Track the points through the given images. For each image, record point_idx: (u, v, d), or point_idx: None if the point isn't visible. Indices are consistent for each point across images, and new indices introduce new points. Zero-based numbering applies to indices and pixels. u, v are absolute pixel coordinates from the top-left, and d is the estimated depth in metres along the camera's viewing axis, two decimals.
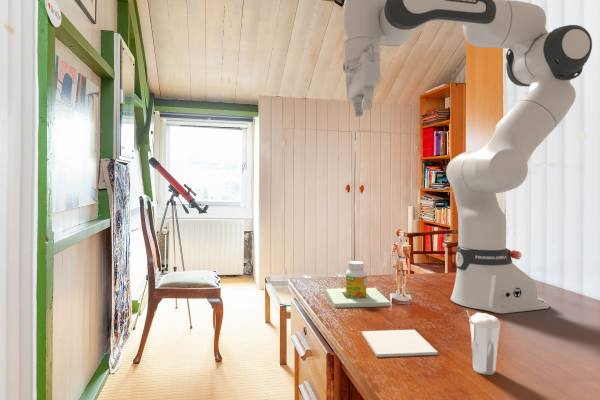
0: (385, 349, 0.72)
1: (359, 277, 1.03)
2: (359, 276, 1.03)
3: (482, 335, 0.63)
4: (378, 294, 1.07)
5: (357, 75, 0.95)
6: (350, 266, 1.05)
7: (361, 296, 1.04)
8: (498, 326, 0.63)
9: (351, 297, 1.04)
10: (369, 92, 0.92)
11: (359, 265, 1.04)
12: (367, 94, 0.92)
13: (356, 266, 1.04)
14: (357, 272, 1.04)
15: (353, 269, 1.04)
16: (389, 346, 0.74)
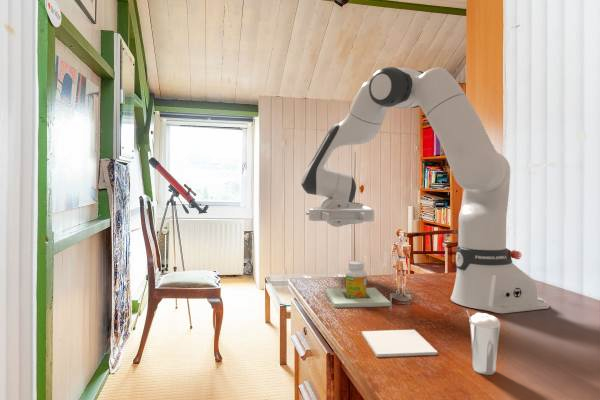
0: (385, 349, 0.72)
1: (359, 277, 1.03)
2: (359, 276, 1.03)
3: (482, 335, 0.63)
4: (378, 294, 1.07)
5: None
6: (350, 266, 1.05)
7: (361, 296, 1.04)
8: (498, 326, 0.63)
9: (351, 297, 1.04)
10: (322, 215, 1.20)
11: (359, 265, 1.04)
12: (323, 217, 1.19)
13: (356, 266, 1.04)
14: (357, 272, 1.04)
15: (353, 269, 1.04)
16: (389, 346, 0.74)
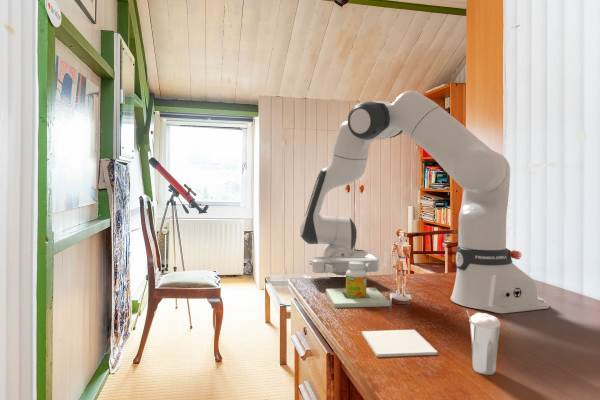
0: (385, 349, 0.72)
1: (359, 277, 1.03)
2: (359, 276, 1.03)
3: (482, 335, 0.63)
4: (378, 294, 1.07)
5: None
6: (350, 266, 1.05)
7: (361, 296, 1.04)
8: (498, 326, 0.63)
9: (351, 297, 1.04)
10: (325, 267, 1.17)
11: (359, 265, 1.04)
12: (326, 269, 1.17)
13: (356, 266, 1.04)
14: (357, 272, 1.04)
15: (353, 269, 1.04)
16: (389, 346, 0.74)
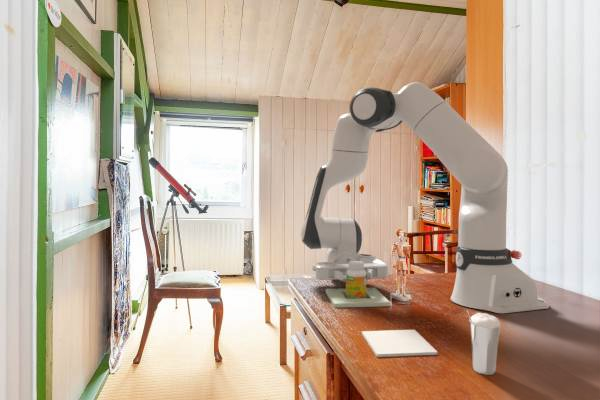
0: (385, 349, 0.72)
1: (359, 277, 1.03)
2: (359, 276, 1.03)
3: (482, 335, 0.63)
4: (378, 294, 1.07)
5: None
6: (350, 266, 1.05)
7: (361, 296, 1.04)
8: (498, 326, 0.63)
9: (351, 297, 1.04)
10: (335, 274, 1.08)
11: (359, 265, 1.04)
12: (336, 276, 1.08)
13: (356, 266, 1.04)
14: (357, 272, 1.04)
15: (353, 269, 1.04)
16: (389, 346, 0.74)
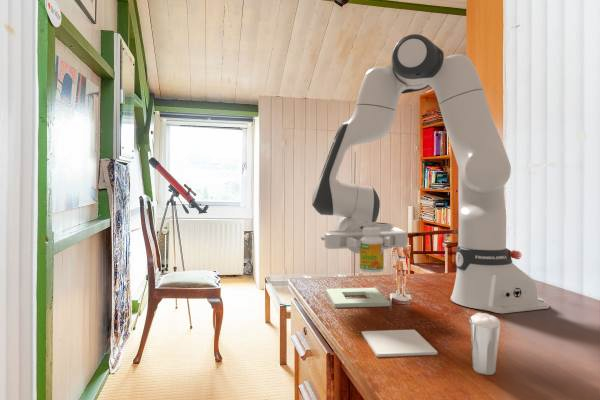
0: (385, 349, 0.72)
1: (375, 244, 0.90)
2: (375, 244, 0.90)
3: (482, 335, 0.63)
4: (378, 294, 1.07)
5: None
6: (365, 232, 0.91)
7: (378, 266, 0.90)
8: (498, 326, 0.63)
9: (366, 267, 0.90)
10: (347, 241, 0.94)
11: (375, 231, 0.90)
12: (348, 243, 0.94)
13: (372, 232, 0.90)
14: (373, 238, 0.90)
15: (368, 235, 0.91)
16: (389, 346, 0.74)
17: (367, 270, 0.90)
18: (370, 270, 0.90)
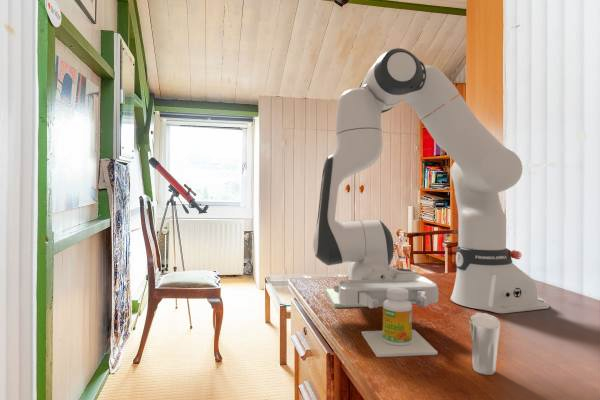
0: (385, 349, 0.72)
1: (403, 312, 0.73)
2: (402, 311, 0.73)
3: (482, 335, 0.63)
4: None
5: None
6: (389, 296, 0.75)
7: (405, 338, 0.74)
8: (498, 326, 0.63)
9: (391, 339, 0.74)
10: (360, 298, 0.78)
11: (402, 295, 0.74)
12: (362, 301, 0.78)
13: (398, 297, 0.74)
14: (400, 304, 0.74)
15: (394, 300, 0.74)
16: (389, 346, 0.74)
17: (392, 343, 0.74)
18: (396, 343, 0.74)
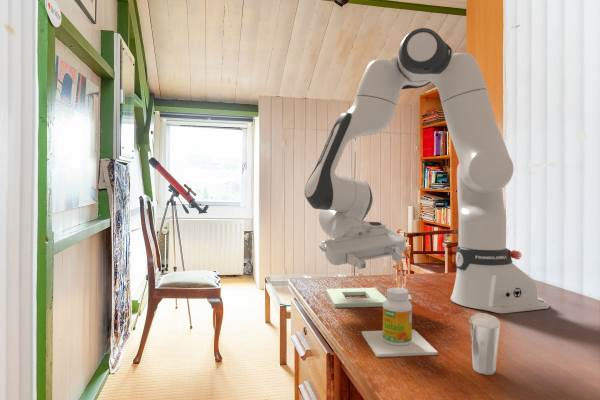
0: (385, 349, 0.72)
1: (403, 312, 0.73)
2: (402, 311, 0.73)
3: (482, 335, 0.63)
4: (378, 294, 1.07)
5: None
6: (389, 296, 0.75)
7: (405, 338, 0.74)
8: (498, 326, 0.63)
9: (391, 339, 0.74)
10: (349, 259, 0.93)
11: (402, 295, 0.74)
12: (350, 262, 0.93)
13: (398, 297, 0.74)
14: (400, 304, 0.74)
15: (394, 300, 0.74)
16: (389, 346, 0.74)
17: (392, 343, 0.74)
18: (396, 343, 0.74)
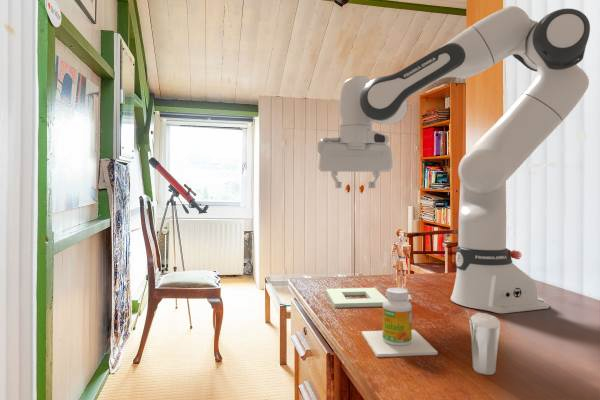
0: (385, 349, 0.72)
1: (403, 312, 0.73)
2: (402, 311, 0.73)
3: (482, 335, 0.63)
4: (378, 294, 1.07)
5: None
6: (389, 296, 0.75)
7: (405, 338, 0.74)
8: (498, 326, 0.63)
9: (391, 339, 0.74)
10: (332, 175, 1.10)
11: (402, 295, 0.74)
12: (332, 177, 1.11)
13: (398, 297, 0.74)
14: (399, 304, 0.74)
15: (393, 300, 0.74)
16: (389, 346, 0.74)
17: (392, 343, 0.74)
18: (396, 343, 0.74)
